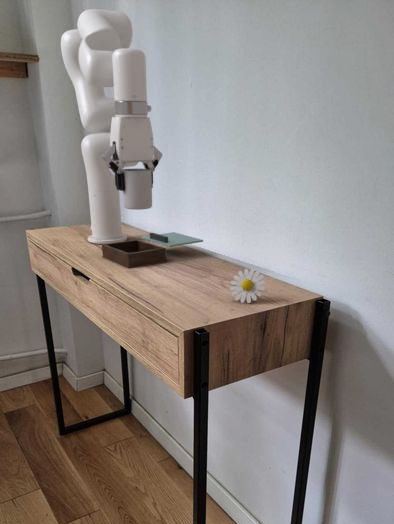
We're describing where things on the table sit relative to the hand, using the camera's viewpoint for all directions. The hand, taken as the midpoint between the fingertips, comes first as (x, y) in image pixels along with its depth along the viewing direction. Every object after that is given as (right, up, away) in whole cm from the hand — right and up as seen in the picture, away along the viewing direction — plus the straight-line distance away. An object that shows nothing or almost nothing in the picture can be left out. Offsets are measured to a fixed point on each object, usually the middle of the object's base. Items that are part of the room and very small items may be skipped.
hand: (134, 188), depth 121 cm
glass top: (+8, -9, +18) cm, 22 cm away
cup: (0, -4, +2) cm, 5 cm away
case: (-2, -15, +12) cm, 20 cm away
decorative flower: (+25, -29, -16) cm, 41 cm away
